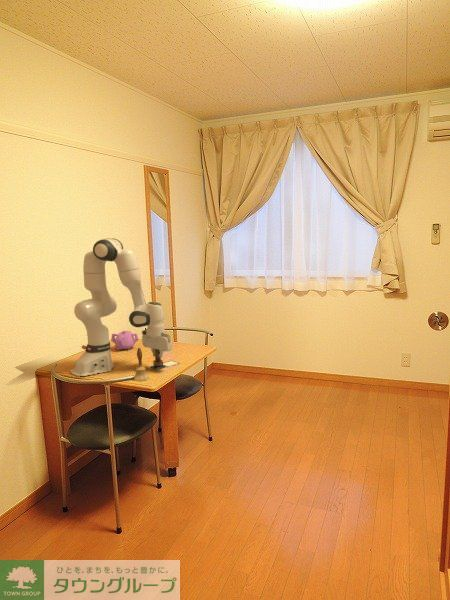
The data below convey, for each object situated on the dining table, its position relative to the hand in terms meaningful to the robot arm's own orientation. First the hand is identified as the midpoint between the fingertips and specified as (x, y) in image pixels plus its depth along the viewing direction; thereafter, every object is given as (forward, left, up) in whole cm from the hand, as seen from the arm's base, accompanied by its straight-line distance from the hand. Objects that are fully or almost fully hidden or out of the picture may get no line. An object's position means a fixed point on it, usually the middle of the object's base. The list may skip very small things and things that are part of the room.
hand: (157, 356), depth 222 cm
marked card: (+8, 0, -6) cm, 10 cm away
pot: (+10, +48, -7) cm, 49 cm away
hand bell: (-16, -6, -7) cm, 18 cm away
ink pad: (0, 0, -6) cm, 6 cm away
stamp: (0, 0, -5) cm, 5 cm away
